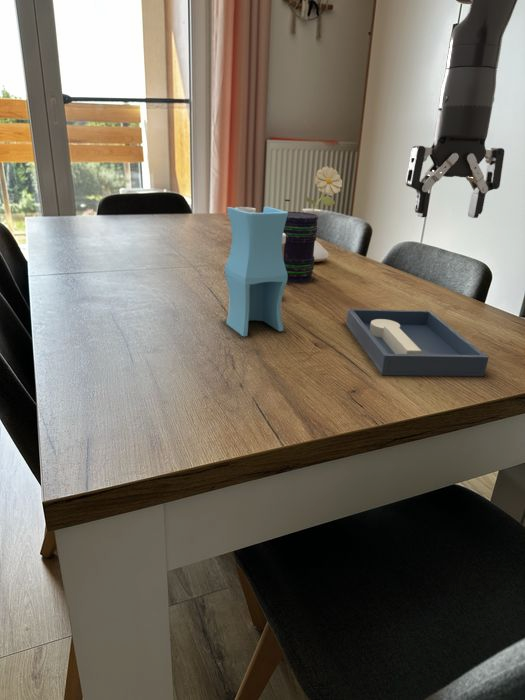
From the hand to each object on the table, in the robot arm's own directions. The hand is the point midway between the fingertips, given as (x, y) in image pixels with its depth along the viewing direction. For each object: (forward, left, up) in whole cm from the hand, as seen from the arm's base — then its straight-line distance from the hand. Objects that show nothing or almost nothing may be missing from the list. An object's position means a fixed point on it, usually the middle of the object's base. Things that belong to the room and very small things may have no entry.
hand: (447, 217), depth 82 cm
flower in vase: (+10, -59, -21) cm, 64 cm away
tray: (+5, +5, -21) cm, 22 cm away
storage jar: (+18, -39, -21) cm, 48 cm away
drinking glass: (+27, -87, -21) cm, 94 cm away
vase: (+30, -4, -21) cm, 37 cm away
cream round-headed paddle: (+7, +5, -20) cm, 22 cm away
